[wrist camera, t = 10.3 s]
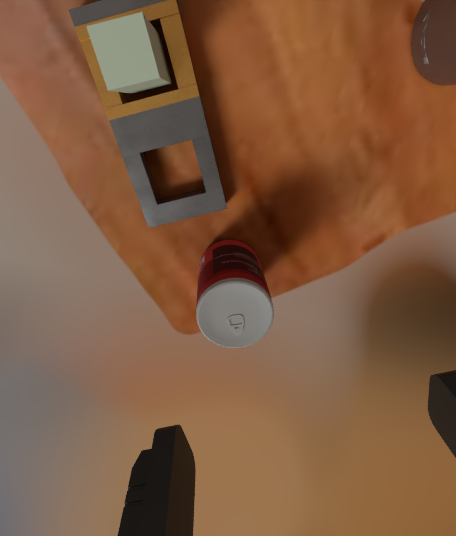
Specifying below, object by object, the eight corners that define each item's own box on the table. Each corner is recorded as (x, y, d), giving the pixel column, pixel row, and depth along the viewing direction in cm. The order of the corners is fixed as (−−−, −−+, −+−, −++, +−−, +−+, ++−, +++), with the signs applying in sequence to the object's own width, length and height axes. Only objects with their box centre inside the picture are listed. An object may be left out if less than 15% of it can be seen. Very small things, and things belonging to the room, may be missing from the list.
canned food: (216, 301, 44) (218, 359, 34) (187, 253, 40) (180, 301, 31) (269, 278, 43) (286, 331, 33) (243, 226, 39) (255, 268, 30)
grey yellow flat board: (173, -13, 29) (171, -21, 27) (226, 203, 38) (227, 209, 36) (77, 15, 29) (67, 9, 28) (151, 221, 38) (148, 228, 36)
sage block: (159, 35, 30) (141, 11, 22) (172, 83, 32) (159, 77, 24) (118, 46, 31) (86, 26, 23) (133, 93, 32) (107, 90, 24)
